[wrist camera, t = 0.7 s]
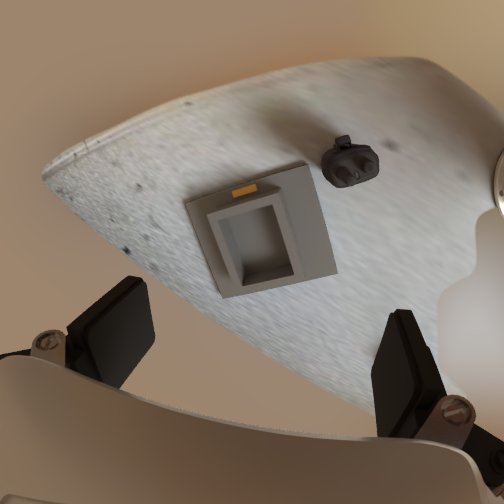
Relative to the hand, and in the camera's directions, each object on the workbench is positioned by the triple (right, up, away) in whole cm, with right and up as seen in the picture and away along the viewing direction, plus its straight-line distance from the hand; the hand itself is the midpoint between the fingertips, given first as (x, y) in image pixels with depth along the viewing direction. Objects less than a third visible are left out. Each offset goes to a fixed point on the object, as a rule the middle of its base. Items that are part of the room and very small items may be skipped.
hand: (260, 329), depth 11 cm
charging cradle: (+1, +5, +27) cm, 28 cm away
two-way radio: (+10, +14, +22) cm, 28 cm away
